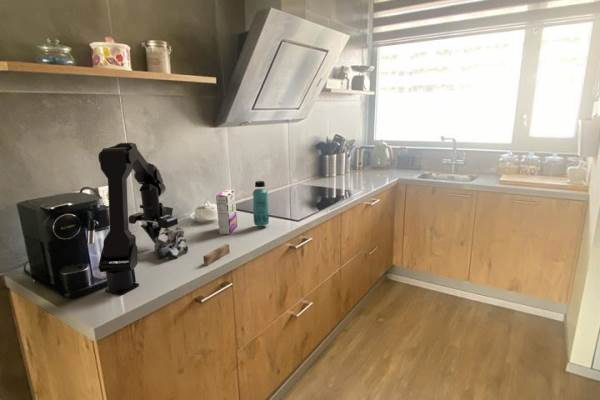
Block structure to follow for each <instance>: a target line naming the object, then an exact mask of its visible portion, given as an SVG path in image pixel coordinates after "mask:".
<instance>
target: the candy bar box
mask: <svg viewBox="0 0 600 400" xmlns="http://www.w3.org/2000/svg"><path fill="white" fill-rule="evenodd" d="M235 191H236V190H235V189H223V190H222V191H221V192H219V193H218V194H217V195H216V196H215V200H216V210H217V221H218V233H219V235H231V234H232V233H233V232H234V231H235V230H236V228H237V227H238V218H237V217H238V216H237V205H236V194H235Z"/></svg>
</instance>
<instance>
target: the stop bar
mask: <svg viewBox="0 0 600 400" xmlns="http://www.w3.org/2000/svg"><path fill="white" fill-rule="evenodd" d="M228 254H230V244H229V243H225V244H223V245H221V246H219V247H217V248H216V249H214V250H212V251H210V252H209V253H207V254H205V255H203V266H210V265H212V264H213V263H215V262H216V261H218V260H219V259H221V258H223V257H225V256H227V255H228Z"/></svg>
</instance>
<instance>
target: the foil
mask: <svg viewBox="0 0 600 400" xmlns="http://www.w3.org/2000/svg"><path fill="white" fill-rule="evenodd" d="M158 232H161V231H158ZM184 234H185V229H182V228H179V227H176V228H175V229H170V228H164V230H163V232H161V233H159V236H158V237H159V238H158V237H156V238H155V239H154V241H155V240H156V241H155V243H154V247H153V249H154V253H155V257H156V259H158V260H159V259H160V258H161V256H163V255H164V256H166V255H167V254H168V253H171V256H173V257H174V258H177V259H179V258H180V257H182V256H184V255H185V254H187V253H188V251H189V246H188V244H186V242H187V238H185V237H184V236H185V235H184ZM161 235H165V236H166V237H167V238H166V239H167V240H166V241H163V240H162V239H160V236H161ZM157 238H158V239H157Z"/></svg>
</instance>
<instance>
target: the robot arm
mask: <svg viewBox="0 0 600 400" xmlns="http://www.w3.org/2000/svg"><path fill="white" fill-rule="evenodd" d="M97 158H98V162H99V165H100V170H101V171H102V173H103V174H104V175H105V177H106V179H107V190H108V191H107V192H108V193H107V194H108V195H107V196H108V197H107V198H108V216H109V217H108V220H109V224H108V225H109V232H108V233H107V234H106V236H105V237H104V238H103V239H104V240H103V241H102V242H103V243H102V244H103V246H102V250H101V252H100V253H101V254H100V257H99V262H98V271H99V273H105V275H106V281H107V288H105V289H104V292H107V293H109V294H110V293H111V294H114V295H118V296H122V295H124V294H126V293H128V292H129V291H132V290H133V289H136V288H137V287H138V286H140V283H137V279H136V273H135V268H136V267H137V265H138V261H139V260H138V259H139V257H138V253H139V251H138V245H137V240H136V239H137V237H136V235H135V234H133V233H132V232H131V230H130V229H129V224H132V225H136V223H137V222H139V221H140V222H141V225H139V226H140V228H142V229H143V230H144V232H146V233H147V235H148V237H149V238H150V239H151V241H152V242H153V243H154V244H155V241H156V240H155V241H154V239H155V238H156V237H158V236H159V235H160V234H161V233H160V232H161V231H162V229H166V228H168V229H170V228H171V227H174V226H176V225H178V224H179V221H178V218H177V217H176V216H173V211H174V207H170V206H169V207H168V206H164V205H163V202H160V198H159V197H160V196H162V195H163V194H164V193H165V192H166V186H165V184H164V180H163V177H162V175H161V173H160V170H159V169H158V167H157V166H156V165H155V164H153V163H150V162H148V161H147V160H146V158H145V157H144V156H143V155H142V154H141V152H140V151H139V150H138V146H137V144H136V143H133V142H119V143H117V144H115V145H113V146H109V147H105V148H104V147H103V148H102V150H100V151H99V153H98V157H97ZM133 171H134V173H133V177H134V179H135V180H136V182H137V183H138V184H139V185H141V186H140V188H139V192H140V197H141V204H139V208H140V209H142V212H137V213H134V214H131V215H129V207H128V184H127V183H128V180H127V179H128V178H129V176H130V174H131V172H133ZM158 231H160V232H158ZM159 233H160V234H159ZM157 239H160V236H159V237H158V238H157ZM111 262H112V263H111ZM115 262H116V263H115Z"/></svg>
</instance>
